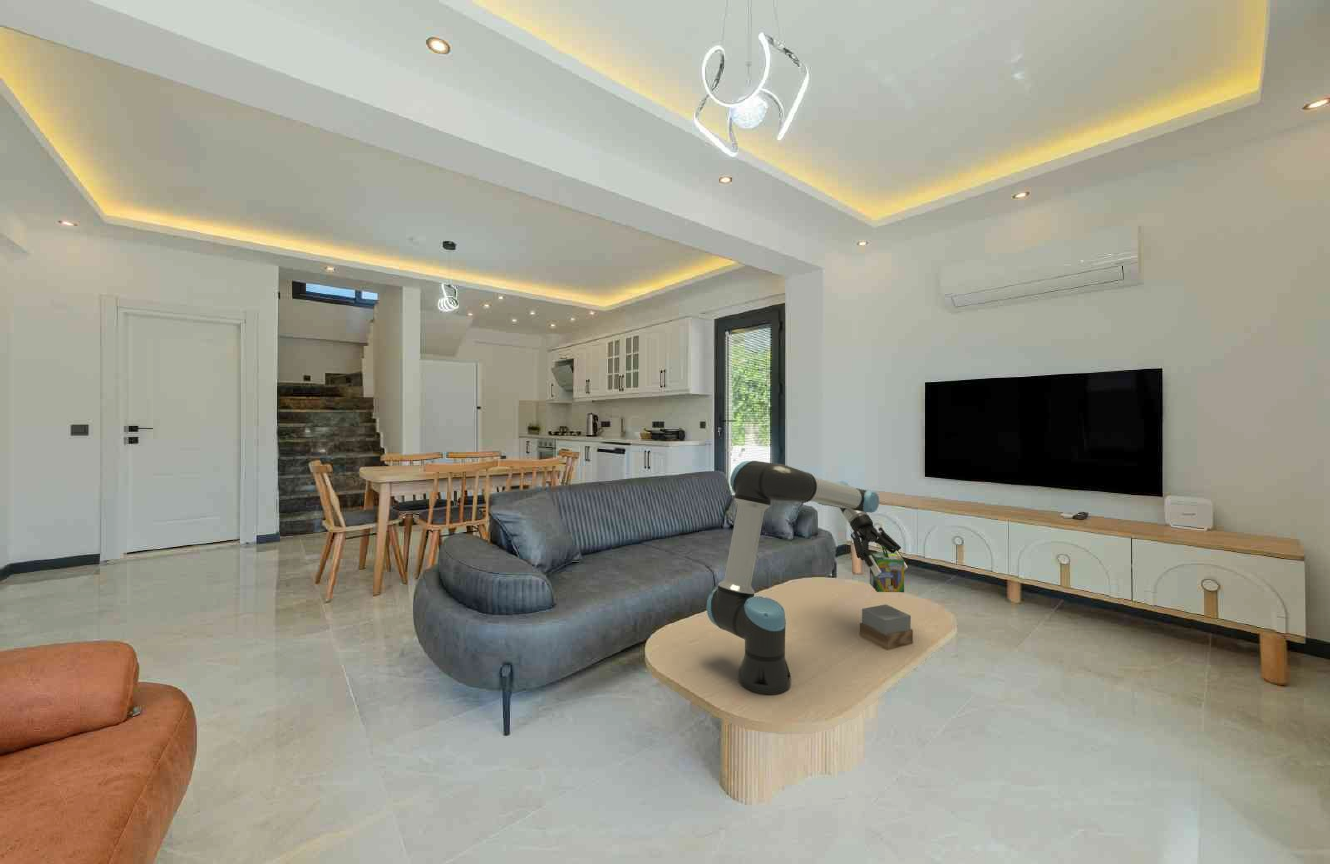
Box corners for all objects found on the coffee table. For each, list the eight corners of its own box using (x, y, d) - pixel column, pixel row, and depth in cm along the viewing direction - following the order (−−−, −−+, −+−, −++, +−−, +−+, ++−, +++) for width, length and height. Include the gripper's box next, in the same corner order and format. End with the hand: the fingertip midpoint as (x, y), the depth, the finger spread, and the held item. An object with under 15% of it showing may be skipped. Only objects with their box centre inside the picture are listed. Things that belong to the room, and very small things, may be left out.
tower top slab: (885, 635, 174) (885, 620, 174) (861, 622, 184) (862, 608, 184) (910, 629, 178) (910, 615, 178) (885, 617, 188) (885, 604, 188)
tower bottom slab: (887, 650, 173) (887, 636, 173) (859, 636, 184) (859, 622, 184) (912, 643, 179) (912, 629, 178) (884, 630, 189) (884, 616, 189)
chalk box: (904, 593, 176) (905, 550, 175) (876, 592, 177) (877, 549, 176) (895, 584, 185) (896, 543, 185) (868, 583, 186) (869, 542, 186)
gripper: (876, 521, 200) (909, 572, 186) (828, 528, 189) (859, 582, 176) (888, 510, 195) (923, 561, 181) (838, 516, 184) (872, 571, 171)
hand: (891, 571), depth 179 cm, fingers closed on chalk box, 12 cm apart
